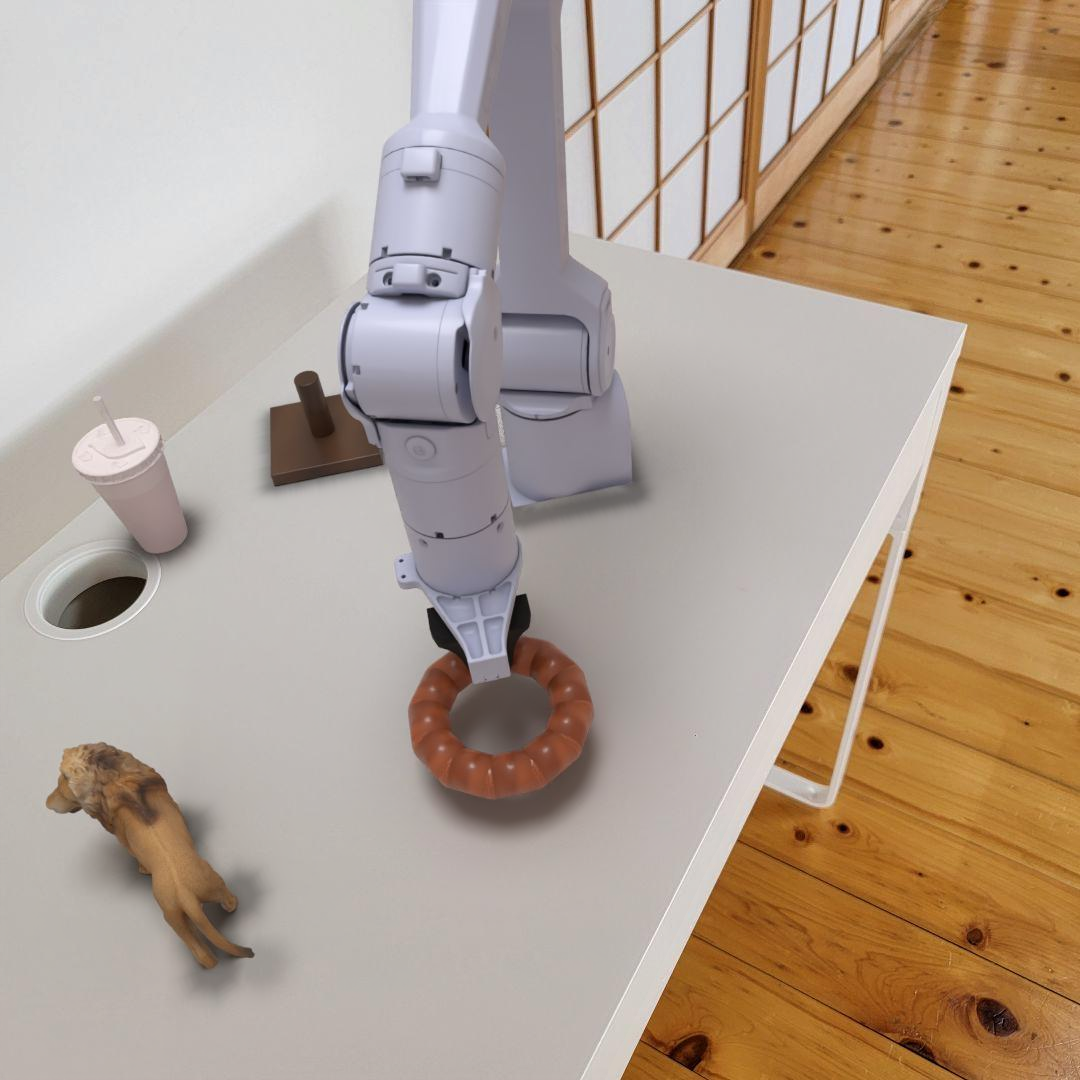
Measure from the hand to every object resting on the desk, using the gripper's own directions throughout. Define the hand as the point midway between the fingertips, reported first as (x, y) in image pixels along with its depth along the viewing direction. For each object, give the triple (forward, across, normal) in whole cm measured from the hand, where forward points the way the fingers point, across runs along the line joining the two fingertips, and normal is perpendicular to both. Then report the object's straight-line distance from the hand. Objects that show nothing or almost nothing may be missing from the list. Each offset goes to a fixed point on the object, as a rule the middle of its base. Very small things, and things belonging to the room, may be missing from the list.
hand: (488, 653), depth 62 cm
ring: (0, +4, 0) cm, 4 cm away
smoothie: (+5, -22, -23) cm, 32 cm away
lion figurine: (+5, +8, -20) cm, 23 cm away
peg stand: (+5, -30, -10) cm, 32 cm away
